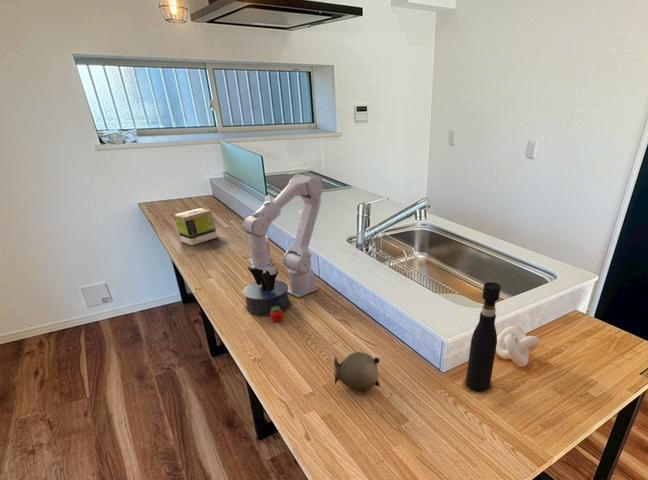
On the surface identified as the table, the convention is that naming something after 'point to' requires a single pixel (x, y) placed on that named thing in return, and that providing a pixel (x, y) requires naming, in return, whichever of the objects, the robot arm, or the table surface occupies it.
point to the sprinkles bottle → (268, 249)
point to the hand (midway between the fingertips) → (265, 287)
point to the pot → (267, 305)
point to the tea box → (195, 226)
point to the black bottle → (483, 342)
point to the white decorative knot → (516, 345)
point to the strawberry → (276, 314)
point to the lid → (265, 290)
